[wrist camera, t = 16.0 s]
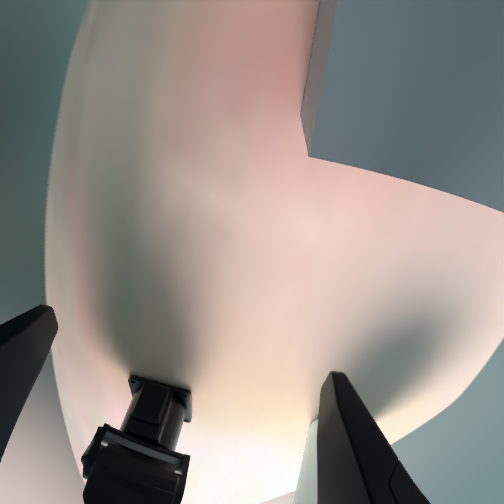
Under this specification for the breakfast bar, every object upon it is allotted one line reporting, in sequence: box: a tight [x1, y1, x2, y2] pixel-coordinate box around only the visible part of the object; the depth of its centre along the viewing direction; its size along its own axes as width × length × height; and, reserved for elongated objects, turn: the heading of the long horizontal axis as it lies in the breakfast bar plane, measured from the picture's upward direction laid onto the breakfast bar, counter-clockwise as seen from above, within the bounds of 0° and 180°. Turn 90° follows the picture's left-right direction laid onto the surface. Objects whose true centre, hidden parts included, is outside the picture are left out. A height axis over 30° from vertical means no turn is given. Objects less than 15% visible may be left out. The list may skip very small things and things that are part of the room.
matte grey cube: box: [300, 0, 504, 212], centre depth 9 cm, size 8×8×9 cm
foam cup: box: [293, 419, 318, 504], centre depth 24 cm, size 10×9×13 cm
